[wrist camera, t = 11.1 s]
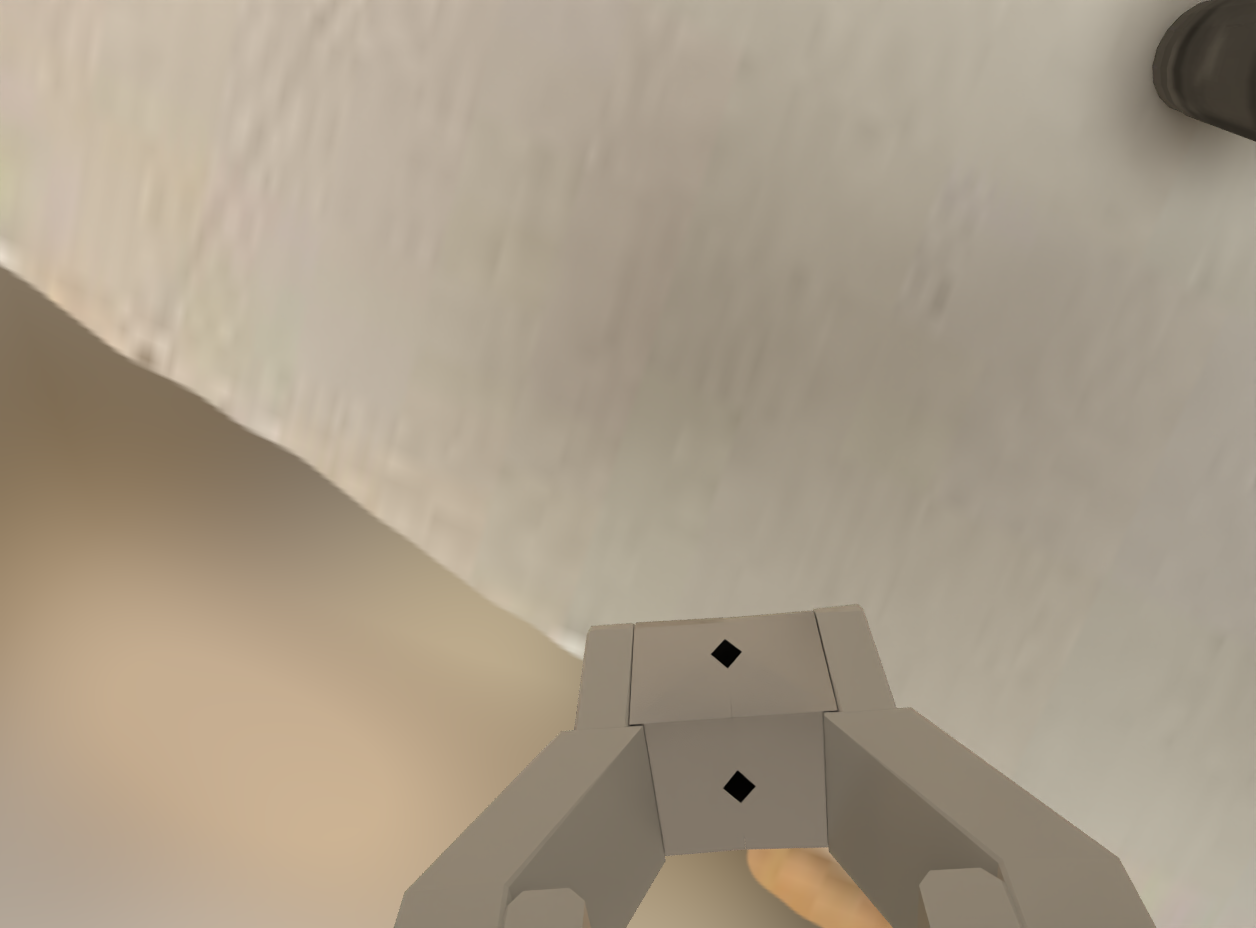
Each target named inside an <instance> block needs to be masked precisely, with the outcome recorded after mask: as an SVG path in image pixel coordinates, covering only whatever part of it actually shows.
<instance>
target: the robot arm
mask: <svg viewBox="0 0 1256 928" xmlns="http://www.w3.org/2000/svg"><path fill="white" fill-rule="evenodd" d="M745 846H746V849H779V848H818V847H829V852H830V853H831V854H832V856H833V857H834V858H835V859H836V860H837V862H838V863H839V864H840V865H841V866H842V868H843V869H844V870H845V871H846V872H847V873H848V875H849V876H850V877H851V878H852V879H853V881H854V882H855V883H856V884H857V885H858V887H859V888H860V889H861V890H862V891H863V892H864V894H865V895H866V896H867V897H868V898H869V900H870V901H871V902H872V903H873V904H874V906H875V907H876V908H877V909H878V910H879V911H880V913H881V914H882V915H883V916H884V917H885V919H886V920H887V921H888V922H889V923H890V925H891V926H892V927H893V928H1156V926H1155V924H1154V922H1153V920H1152V919H1151V917H1150V915H1149V913H1148V911H1147V909H1146V907H1145V906H1144V904H1143V902H1142V900H1141V898H1140V896H1139V894H1138V893H1137V891H1136V889H1135V887H1134V885H1133V883H1132V881H1131V880H1130V878H1129V876H1128V874H1127V872H1126V870H1125V868H1124V867H1123V865H1122V863H1121V861H1120V859H1119V858H1118V857H1117V856H1116V855H1114V854H1113V853H1111V852H1110V851H1109V850H1107V849H1106V848H1105V847H1103V846H1102V845H1100V844H1099V843H1098V842H1096V841H1095V840H1093V839H1092V838H1091V837H1089V836H1088V835H1087V834H1085V833H1084V832H1082V831H1081V830H1080V829H1078V828H1077V827H1076V826H1074V825H1073V824H1071V823H1070V822H1069V821H1067V820H1066V819H1064V818H1063V817H1062V816H1060V815H1059V814H1058V813H1056V812H1055V811H1053V810H1052V809H1051V808H1049V807H1048V806H1047V805H1045V804H1044V803H1042V802H1041V801H1040V800H1038V799H1037V798H1035V797H1034V796H1033V795H1031V794H1030V793H1029V792H1027V791H1026V790H1024V789H1023V788H1022V787H1020V786H1019V785H1018V784H1016V783H1015V782H1013V781H1012V780H1011V779H1009V778H1008V777H1006V776H1005V775H1004V774H1002V773H1001V772H1000V771H998V770H997V769H995V768H994V767H993V766H991V765H990V764H989V763H987V762H986V761H984V760H983V759H982V758H980V757H979V756H977V755H976V754H975V753H973V752H972V751H971V750H969V749H968V748H966V747H965V746H964V745H962V744H961V743H960V742H958V741H957V740H955V739H954V738H953V737H951V736H950V735H948V734H947V733H946V732H944V731H943V730H942V729H940V728H939V727H937V726H936V725H935V724H933V723H932V722H931V721H929V720H928V719H926V718H925V717H924V716H922V715H921V714H919V713H918V712H917V711H915V710H914V709H913V708H896V705H895V702H894V699H893V696H892V693H891V690H890V687H889V684H888V681H887V678H886V675H885V672H884V669H883V666H882V663H881V660H880V657H879V654H878V651H877V648H876V645H875V642H874V639H873V637H872V634H871V631H870V628H869V625H868V622H867V619H866V616H865V613H864V610H863V608H862V607H860V606H859V605H858V604H855V605H845V606H836V607H827V608H817V609H813V611H801V612H789V613H777V614H765V615H753V616H742V617H730V618H723V617H722V618H705V619H688V620H671V621H653V622H636V625H635V624H633V623H626V624H612V625H598V626H591V628H590V630H589V632H588V633H587V638H586V645H585V653H584V660H583V668H582V675H581V683H580V690H579V698H578V706H577V712H576V721H575V727H574V730H572V731H561V732H560V733H559V734H558V735H557V736H556V737H555V738H554V739H553V740H552V741H551V742H550V743H549V744H548V745H547V746H546V747H545V748H544V749H543V750H542V751H541V752H540V753H539V754H538V755H537V756H536V758H534V759H533V761H532V762H531V763H530V764H529V765H528V766H527V767H526V768H525V769H524V770H523V771H522V772H521V773H520V774H519V775H518V776H517V777H516V778H515V779H514V780H513V781H512V782H511V783H510V784H509V785H508V786H507V787H506V788H505V790H503V791H502V792H501V794H500V795H499V796H498V797H497V798H496V799H495V800H494V801H493V802H492V803H491V804H490V805H489V806H488V807H487V808H486V809H485V810H484V811H483V812H482V813H481V814H480V815H479V816H478V817H477V818H476V819H475V821H473V822H472V823H471V824H470V825H469V826H468V827H467V829H466V830H465V831H464V832H463V833H462V834H461V835H460V836H459V837H458V838H457V839H456V840H455V841H454V842H453V843H452V844H451V845H450V846H449V847H448V848H447V849H446V850H445V851H444V852H443V853H442V854H441V855H440V856H439V857H438V858H437V859H436V860H435V861H434V862H433V863H432V865H430V867H429V868H428V869H427V870H426V871H425V872H424V873H423V874H422V875H421V876H420V877H419V878H418V879H417V880H416V881H415V882H414V883H413V884H412V885H411V886H410V887H409V888H408V889H407V890H406V891H405V893H404V896H403V900H402V903H401V906H400V909H399V912H398V916H397V919H396V922H395V926H394V928H626V927H627V925H628V923H629V922H630V920H631V918H632V917H633V915H634V913H635V912H636V910H637V908H638V906H639V905H640V903H641V901H642V900H643V898H644V896H645V895H646V893H647V891H648V889H649V888H650V886H651V884H652V883H653V881H654V879H655V878H656V876H657V874H658V872H659V871H660V869H661V867H662V866H663V864H664V862H665V856H670V855H682V854H694V853H706V852H718V851H731V850H743V849H745Z"/></svg>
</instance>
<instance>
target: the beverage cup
mask: <svg viewBox="0 0 1256 928" xmlns="http://www.w3.org/2000/svg"><path fill="white" fill-rule="evenodd" d="M1153 83H1154V85H1155V87H1156V90H1157V92H1158V95H1159V97H1160V98H1161V99H1162V100H1163V101H1164V102H1165V103H1166V104H1167V105H1168V106H1169V107H1171V108H1173V109H1176V110H1178V111H1181V112H1183V113H1184V114H1185V115H1187V116H1189V117H1192V118H1194V119H1197V120H1200V121H1202V122H1205V123H1208V124H1210V125H1213V126H1216V127H1218V128H1221V129H1224V130H1226V131H1229V132H1232V133H1234V134H1237V135H1240V136H1242V137H1245V138H1248V139H1250V140H1253V141H1256V0H1209V1H1206V2H1203V3H1200V4H1198V5H1196V6H1195V7H1193V8H1191V9H1190V10H1188V11H1187V12H1185V13H1184V14H1182V15H1181V16H1180V17H1179V18H1178V19H1177V20H1176V21H1175V23H1174V24H1173V25H1172V26H1171V27H1170V28H1169V29H1168V30H1167V32H1166V34H1165V35H1164V37H1163V39H1162V41H1161V43H1160V44H1159V46H1158V48H1157V52H1156V56H1155V60H1154V63H1153Z"/></svg>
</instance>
